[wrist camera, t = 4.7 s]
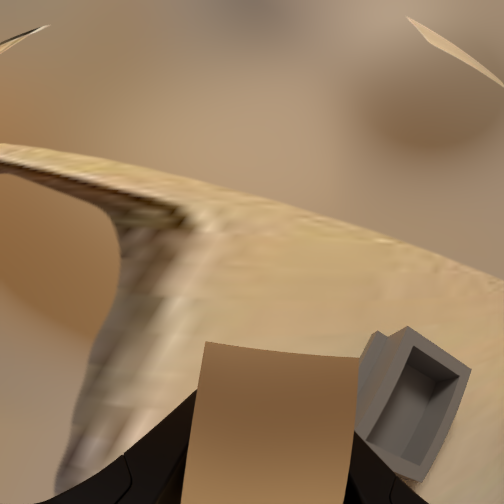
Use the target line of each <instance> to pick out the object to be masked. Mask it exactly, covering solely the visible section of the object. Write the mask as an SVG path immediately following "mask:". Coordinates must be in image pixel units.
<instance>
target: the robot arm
mask: <svg viewBox="0 0 504 504" xmlns="http://www.w3.org/2000/svg"><path fill="white" fill-rule="evenodd" d="M196 395H197V390H195V391H194V392H193V393H192V394H191V395H190V396H189V397H188V398H187V399H185V400H184V401H183V402H182V403H181V404H180V405H179V406H178V407H177V408H176V409H174V410H173V411H172V412H171V413H170V414H169V415H168V416H167V417H165V418H164V419H163V420H162V421H161V422H160V423H159V424H158V425H156V426H155V427H154V428H153V429H152V430H151V431H149V432H148V433H147V434H146V435H145V436H144V437H142V438H141V439H140V440H139V441H138V442H137V443H135V444H134V445H133V446H132V447H131V448H129V449H128V450H127V451H126V452H125V453H124V455H121V456H120V457H118V458H117V459H116V460H115V461H113V462H112V463H111V464H110V465H108V466H107V467H105V468H104V469H103V470H101V471H100V472H98V473H97V474H95V475H94V476H92V477H90V478H89V479H87V480H85V481H84V482H82V483H80V484H78V485H76V486H74V487H73V488H71V489H69V490H67V491H65V492H63V493H61V494H59V495H57V496H55V497H53V498H51V499H49V500H47V501H44V502H40V503H36V504H181V498H182V490H183V482H184V475H185V468H186V460H187V453H188V446H189V440H190V433H191V426H192V420H193V413H194V407H195V401H196ZM343 504H429V503H427V502H426V501H425V500H424V499H422V498H421V497H420V496H419V495H417V494H416V493H415V492H414V491H413V490H412V489H411V488H410V487H409V486H408V485H406V484H405V483H404V482H403V481H402V480H401V479H400V478H399V477H398V476H396V474H395V473H394V472H393V471H392V470H391V469H390V468H389V466H388V465H387V464H386V463H385V462H384V461H383V460H382V459H381V458H380V457H379V456H378V455H377V454H376V453H375V452H374V451H373V450H372V449H371V448H370V447H369V446H368V445H367V443H366V442H365V441H364V440H363V439H362V438H361V437H360V436H359V435H358V434H357V433H356V432H355V431H354V435H353V443H352V451H351V459H350V466H349V472H348V478H347V484H346V490H345V495H344V501H343Z"/></svg>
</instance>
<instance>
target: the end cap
mask: <svg viewBox="0 0 504 504" xmlns="http://www.w3.org/2000/svg"><path fill="white" fill-rule="evenodd" d="M471 370H472V369H470V368H469V367H467V366H466V365H464V364H463V363H461V362H460V361H459V360H457V359H456V358H454V357H453V356H451V355H450V354H448V353H447V352H445V351H444V350H443V349H441V348H440V347H438V346H437V345H435V344H434V343H432V342H431V341H429V340H428V339H426V338H425V337H423V336H422V335H420V334H419V333H417V332H416V331H415V330H413V329H412V328H410V327H409V326H407V327H405V328H403V329H401V330H400V331H398V332H396V333H394V334H392V335H391V336H389V337H387V336H385V335H384V334H382V333H381V332H379V331H376V332H375V333H373V334H372V335H371V337H370V339H369V341H368V343H367V345H366V347H365V349H364V351H363V353H362V355H361V357H360V358H359V371H358V389H357V403H356V415H355V425H354V431H355V432H356V433H357V434H358V435H359V436H360V437H361V438H362V439H363V440H364V441H365V442H366V443H367V445H368V446H369V447H370V448H371V449H372V450H373V451H374V452H375V453H376V454H377V455H378V456H379V457H380V458H381V459H382V460H383V461H384V462H385V463H386V464H387V465H388V466H389V468H390V469H391V470H392V471H393V472H394V473H395V474H396V476H398V477H400V478H403V479H406V480H409V479H410V480H413V481H417V482H421V483H422V482H423V480H424V478H425V477H426V475H427V473H428V471H429V469H430V468H431V466H432V464H433V462H434V460H435V458H436V456H437V454H438V452H439V450H440V448H441V446H442V444H443V442H444V440H445V438H446V436H447V433H448V431H449V429H450V427H451V424H452V422H453V420H454V417H455V415H456V412H457V410H458V407H459V405H460V402H461V399H462V397H463V394H464V391H465V388H466V385H467V382H468V379H469V376H470V373H471Z"/></svg>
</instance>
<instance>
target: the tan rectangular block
mask: <svg viewBox="0 0 504 504" xmlns="http://www.w3.org/2000/svg"><path fill="white" fill-rule="evenodd" d="M358 371H359V358H351V357H334V356H320V355H307V354H296V353H287V352H277V351H269V350H260V349H253V348H245V347H238V346H231V345H225V344H218V343H212V342H205V347H204V353H203V359H202V365H201V371H200V377H199V383H198V389H197V395H196V401H195V407H194V413H193V420H192V426H191V433H190V440H189V446H188V453H187V460H186V468H185V475H184V482H183V490H182V498H181V504H343V501H344V495H345V490H346V484H347V478H348V472H349V466H350V459H351V451H352V443H353V435H354V425H355V415H356V403H357V389H358Z"/></svg>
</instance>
